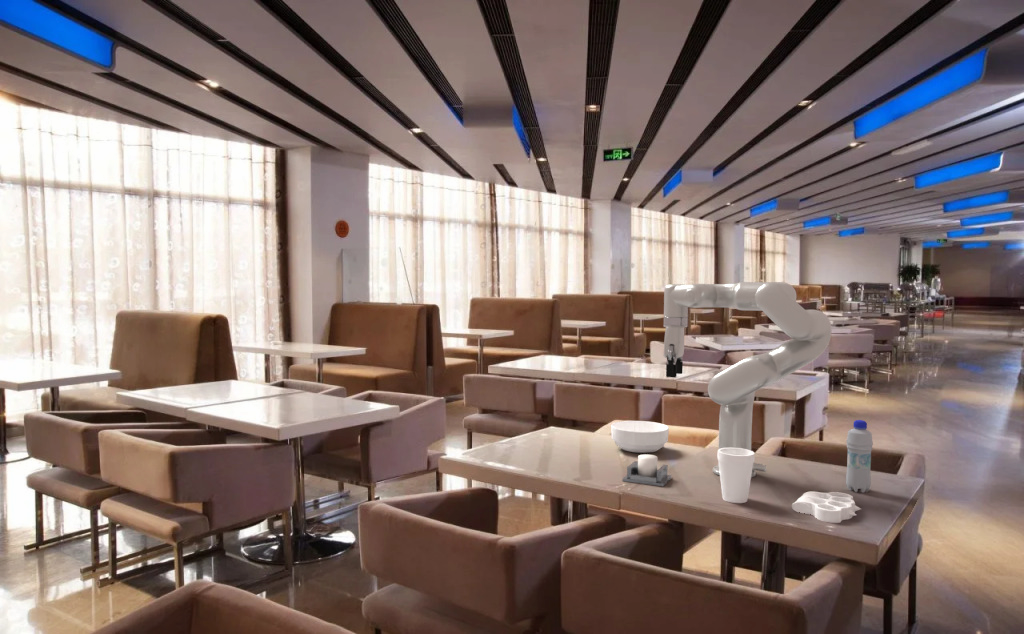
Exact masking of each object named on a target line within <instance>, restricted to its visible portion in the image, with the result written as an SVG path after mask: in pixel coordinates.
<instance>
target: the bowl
mask: <svg viewBox="0 0 1024 634" xmlns="http://www.w3.org/2000/svg"><path fill="white" fill-rule="evenodd" d="M610 427H611V428H610V430H611V431H610V433H611V440H612V441H614V443H615V445H616V446H618V447H619V448H621V450H623V451H627V452H630V453H631V452H632V453H641V454H642V453H643V454H646V453H647V454H648V453H654V452H657V451H658V450H661V448H663V447H664V446H665V444H667V443H668V440H669V431H670V429H669V426H668V425H666V424H664V423H660V422H655V421H648V420H647V421H645V420H623V421H616V422H613V423H612V424H611V425H610Z"/></svg>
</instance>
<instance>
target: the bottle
mask: <svg viewBox="0 0 1024 634" xmlns="http://www.w3.org/2000/svg"><path fill="white" fill-rule="evenodd" d="M845 443H846V448H847V459H846V460H847V461H846V463H847V464H846V465H847V466H846V476H845V484H846V487H847V489H848V490H849V491H851V492H852V491H854V492H855V493H857V492H858V491H859V489H860V493H867V492H869V491H870V489H871V486H872V476H871V463H872V450H873V445H874V442H873V434H872V432H871V431H869V430H868V424H867V421H866V420H864V419H863V420H862V419H856V420H854V421H853V428H852V429H849V430H848V431H847V437H846V442H845Z"/></svg>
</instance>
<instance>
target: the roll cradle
mask: <svg viewBox="0 0 1024 634" xmlns="http://www.w3.org/2000/svg"><path fill="white" fill-rule="evenodd" d="M626 467H627V468H626V470H627V471H626V475H625V476H623V477H622V482H625V483H626V482H627V483H633V484H641V485H650V486H657V487H665V486H666V484H667V483H669V482H670V480H671V479H672V474H668V468H669V467H668V464H662V465H661V466H660V468H659V469H657V478H656V477H648V476H640V475H638V460H637V461H636V460H634V461H633V462H632V463H630V465H628V466H626Z"/></svg>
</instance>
